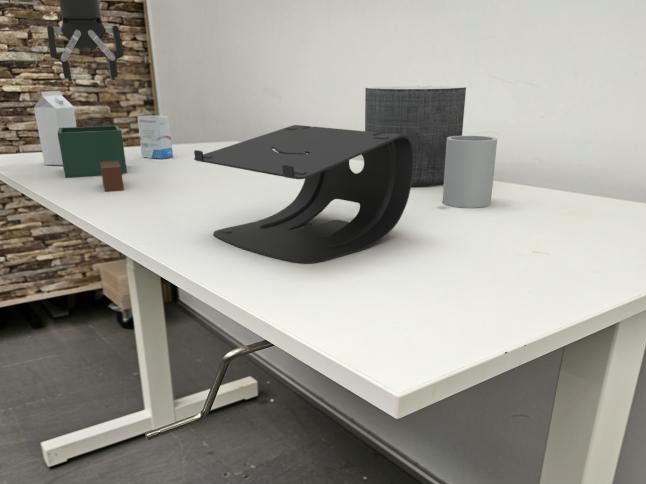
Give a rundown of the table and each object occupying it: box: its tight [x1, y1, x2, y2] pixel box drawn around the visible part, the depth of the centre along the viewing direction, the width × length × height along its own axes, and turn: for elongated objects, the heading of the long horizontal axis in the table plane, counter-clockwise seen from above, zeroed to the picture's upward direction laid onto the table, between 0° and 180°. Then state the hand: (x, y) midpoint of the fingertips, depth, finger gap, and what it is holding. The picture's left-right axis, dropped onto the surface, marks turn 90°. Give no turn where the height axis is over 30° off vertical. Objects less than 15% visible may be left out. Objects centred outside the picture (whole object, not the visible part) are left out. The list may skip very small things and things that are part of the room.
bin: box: [58, 125, 128, 179], centre depth 155 cm, size 15×15×10 cm
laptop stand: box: [193, 124, 413, 264], centre depth 93 cm, size 26×24×16 cm
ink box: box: [136, 115, 174, 160], centre depth 178 cm, size 9×5×12 cm, turn 59°
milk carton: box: [33, 90, 78, 166], centre depth 166 cm, size 7×7×19 cm
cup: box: [442, 135, 498, 209], centre depth 115 cm, size 9×9×12 cm
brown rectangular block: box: [100, 161, 125, 192], centre depth 135 cm, size 4×10×5 cm, turn 21°
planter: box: [364, 84, 467, 188], centre depth 138 cm, size 22×22×20 cm
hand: (91, 80), depth 127 cm, fingers open, 8 cm apart
